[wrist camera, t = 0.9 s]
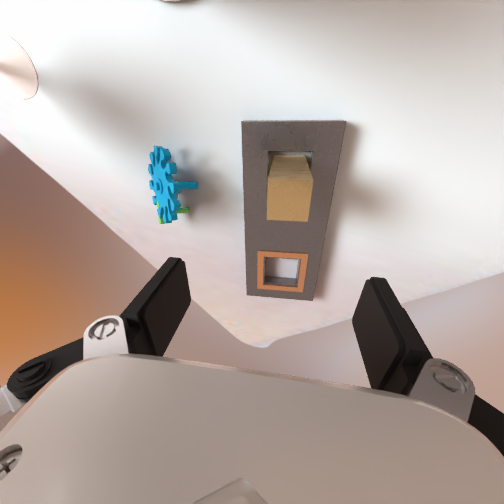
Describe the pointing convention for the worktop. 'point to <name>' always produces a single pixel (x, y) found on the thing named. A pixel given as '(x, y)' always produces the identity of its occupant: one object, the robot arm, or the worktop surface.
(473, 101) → the worktop surface
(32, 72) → the champagne flute
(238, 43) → the worktop surface
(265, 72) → the worktop surface
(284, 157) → the peg
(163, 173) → the gear
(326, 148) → the rail plate
